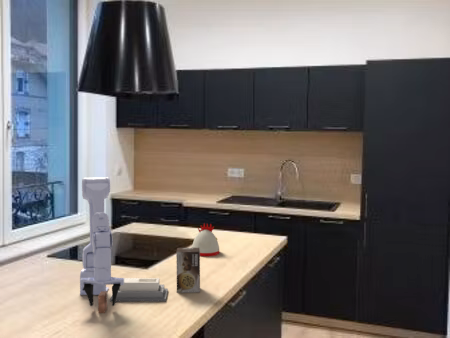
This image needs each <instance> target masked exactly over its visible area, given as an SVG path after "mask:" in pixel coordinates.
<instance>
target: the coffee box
mask: <svg viewBox="0 0 450 338" xmlns="http://www.w3.org/2000/svg"><path fill="white" fill-rule="evenodd" d="M175 252H176V253H175V254H176V293H178V294H179V293H181V294H182V293H201V256H200V248H192V247H177V248H176V251H175Z"/></svg>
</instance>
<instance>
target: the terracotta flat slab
mask: <svg viewBox="0 0 450 338" xmlns="http://www.w3.org/2000/svg"><path fill="white" fill-rule="evenodd" d="M97 297H98V298H97V299H98V301H97V303H98V310H97V311H98V312H97V313H98V314H105V313H106V311H107V310H108V309H107V308H108V291H101V292H100V294H99V295H98V296H97Z"/></svg>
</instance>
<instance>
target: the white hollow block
mask: <svg viewBox="0 0 450 338" xmlns="http://www.w3.org/2000/svg"><path fill="white" fill-rule="evenodd" d="M123 278H124V285H121V286H120V291H159V285H160V277H156V278H155V277H149V278H148V277H141V278H139V277H138V278H137V277H136V278H135V277H133V278H132V277H130V278H129V277H127V278H126V277H123Z"/></svg>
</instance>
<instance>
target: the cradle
mask: <svg viewBox="0 0 450 338" xmlns="http://www.w3.org/2000/svg"><path fill="white" fill-rule="evenodd" d="M168 291H169V288H165V284H159V291H120V288H119V290H118V293H117V296H116V301H115V303H116V302H119V303H120V302H121V303H122V302H130V303H131V302H132V303H133V302H135V301H136V302H137V301H149V302H166V301H167V297H168ZM109 301H110V302H111V303H112V295H111V296H110V299H109Z"/></svg>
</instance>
